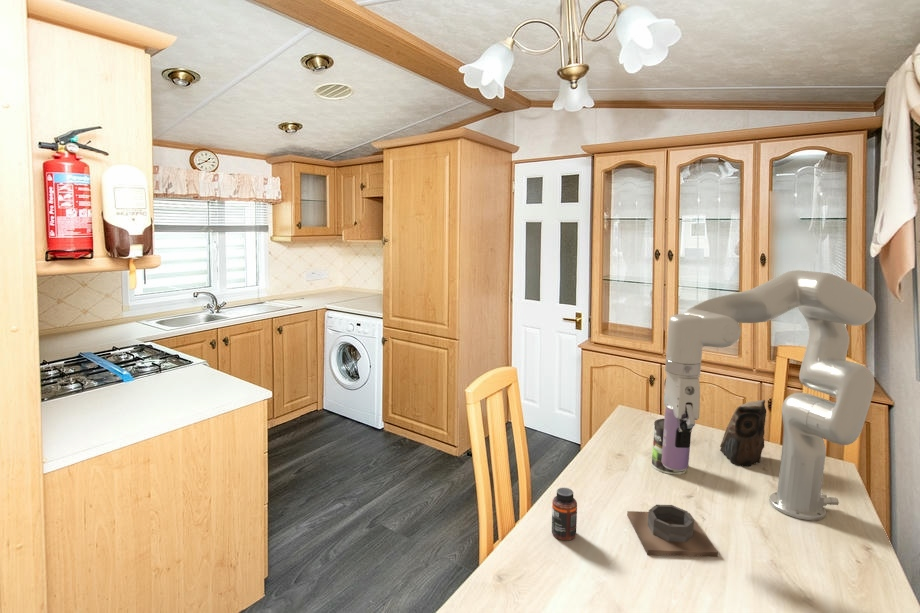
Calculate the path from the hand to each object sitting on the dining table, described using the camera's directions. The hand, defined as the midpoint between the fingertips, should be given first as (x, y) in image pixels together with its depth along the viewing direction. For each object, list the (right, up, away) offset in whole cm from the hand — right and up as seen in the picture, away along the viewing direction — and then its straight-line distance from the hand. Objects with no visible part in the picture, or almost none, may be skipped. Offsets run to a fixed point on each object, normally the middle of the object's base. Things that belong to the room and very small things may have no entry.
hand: (676, 440), depth 120 cm
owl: (+41, -18, +46) cm, 64 cm away
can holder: (0, -24, +4) cm, 25 cm away
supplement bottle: (-26, -24, +4) cm, 36 cm away
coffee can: (+14, -19, +39) cm, 46 cm away
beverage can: (0, -7, +1) cm, 7 cm away
